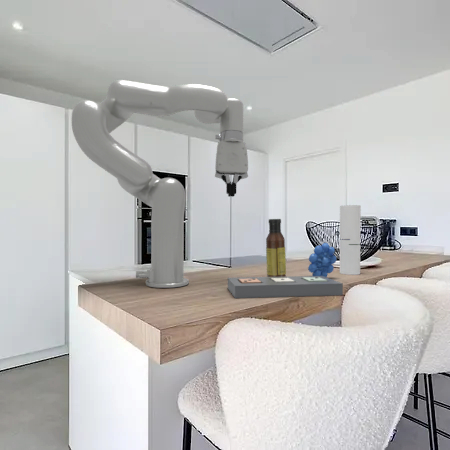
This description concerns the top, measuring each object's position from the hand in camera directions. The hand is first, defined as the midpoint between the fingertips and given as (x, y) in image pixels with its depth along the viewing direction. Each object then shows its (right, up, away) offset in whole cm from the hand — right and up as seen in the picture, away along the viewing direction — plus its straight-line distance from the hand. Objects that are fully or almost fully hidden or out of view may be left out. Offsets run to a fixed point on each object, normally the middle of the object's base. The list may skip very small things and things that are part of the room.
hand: (231, 196), depth 103 cm
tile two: (+22, -27, -16) cm, 39 cm away
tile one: (+13, -27, -17) cm, 35 cm away
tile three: (+5, -27, -18) cm, 33 cm away
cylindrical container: (+44, -27, +15) cm, 54 cm away
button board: (+13, -27, -17) cm, 35 cm away
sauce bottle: (+15, -27, +2) cm, 31 cm away
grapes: (+30, -27, +3) cm, 41 cm away
